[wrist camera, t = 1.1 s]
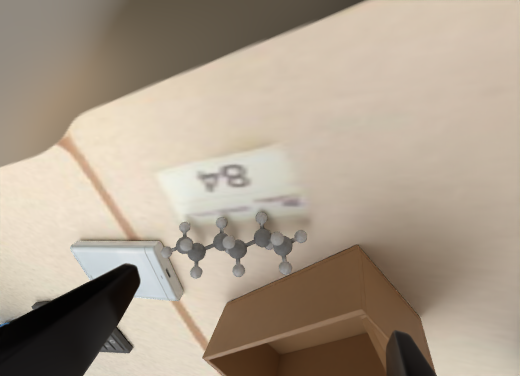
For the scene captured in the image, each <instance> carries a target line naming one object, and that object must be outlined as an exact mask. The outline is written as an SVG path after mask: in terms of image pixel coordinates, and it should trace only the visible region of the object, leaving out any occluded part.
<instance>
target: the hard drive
mask: <svg viewBox="0 0 520 376" xmlns="http://www.w3.org/2000/svg"><path fill="white" fill-rule="evenodd" d="M163 248H164V247H163V245H162V243H161V242H160V241H77V242H76V243H74V244H73V245H72V246H71V247H70V249H71V252H72V253H73V255H74V256H75V258H76V259H77V261H78V262H79V264H80V265H81V267H82V269H83V270H84V272H85V273H86V275H87V276H88V278H89V279H90V281H91V280H93V279H95V278H97V277H99V276H101V275H103V274H105V273H107V272H109V271H111V270H112V269H114V268H116V267H118V266H120V265H122V264H125V263H129V264H133V265H136V266H137V268H138V272H139V275H140V279H141V283H140V286H139V288H138V290H137V292H136V293H135V295H134V297H137V298H147V299H158V300H169V301H170V300H171V301H179V300H180V298H181V297H182V295H183V289H182V287H181V285H180V283H179V280H178V278H177V276H176V274H175V272H174V269H173V267H172V265H171V263H170V260H169V258H164V257H162V255H161V250H162V249H163Z"/></svg>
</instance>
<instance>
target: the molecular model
mask: <svg viewBox="0 0 520 376" xmlns="http://www.w3.org/2000/svg"><path fill="white" fill-rule="evenodd" d="M256 221H257V222H258V223H260V229H259V230H258V231H256V233H255V235H254V240H252V241H250V242H248V243H246V244H245V243H244V242H243V241H241V240H235V239H234V238H233V237H232V236H228V235H227V234H225V233H224V232H223V228H224V227H226V225H227V220H226V219H225V218H223V217H221V218H218V219H217V221H216V225H217V227H218V228H220V234H217V235H216V237H215V238H214V241H213V244H211V245H208V246H206V247H204V246H203V245H202V244H200V243H194V244H193V241H192V240H191V239H190V238H188V237H186V233H187V232H188V231H189V230H190V224H189V223H188V222H183V223H181V224H180V227H179V228H180V230H181V231H182V232H183V237H182V238H180V239H179V240H178V241H177V244H176V247H174V248H172V249H171V248H170V247H164V248H163V249H162V250H161V255H162V257H164V258H168V257H170V256H171V255H172V252H173V251H176V250H178V251H179V252H180V253H182V254H186V253H188V257H189V258H190V259H191V260H193V261H195V267H193V268H192V269H191V271H190V275H191V276H192V277H193V278H195V279H197V278H199V277H201V275H202V269H201V268H200V267H198V261H199V260H201V259H203V258H204V256H205V253H206V250H208V249H210V248H213V247H215V248H216V249H218V250H220V251H224V250H225V252H226V253H228V254H230V256H231V257H233V258H236V264H237V265H235V266H234V267H233V274H234V275H235V276H236V277H241V276H242V275H243V274H244V273H245V268H244V266H243V265H241V264H240V258H242V257H243V256H244V255H245V254H246V252H247V247H248V246H250V245H253V244H255V243H256V245H258V246H260V247H265V248H266V249H268V250H271V249H274V251H275V252H276V253H277V254H278V255H281V256H282V260H283V262H282V263H281V264H280V265H279V270H280V272H281V273H282V274H284V275H287V274H289V273H290V272H291V270H292V266H291V264H290V263H289V262H287V260H286V255H288V254H289V253H290V252H291V250H292V243H293V242H295V241H297V242H299V243H303V242H305V241H306V239H307V234H306V233H305V232H304V231H302V230H299V231H297V232H296V233H295V238H292V239H289V238H288V237H286V236H283V234H282V233H280V232H274V233H273V234H272V235H271V233H270V232H269V231H268V230H266V229H264V223H265V222H266V221H267V215H266V214H265V213H263V212H260V213H258V214H257V215H256Z"/></svg>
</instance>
